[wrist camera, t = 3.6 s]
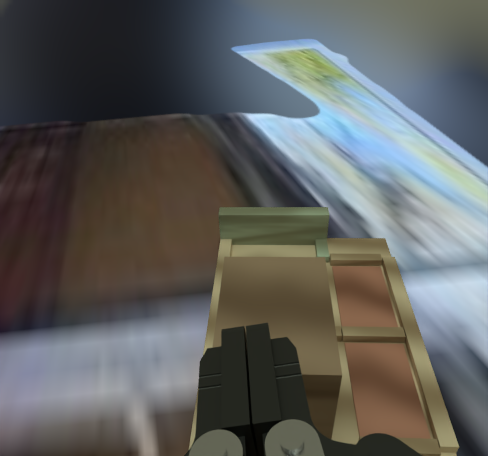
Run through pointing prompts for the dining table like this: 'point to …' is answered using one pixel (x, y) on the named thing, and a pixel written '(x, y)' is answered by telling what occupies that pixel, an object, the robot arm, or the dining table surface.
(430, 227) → the dining table surface
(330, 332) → the walnut block
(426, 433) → the tray
